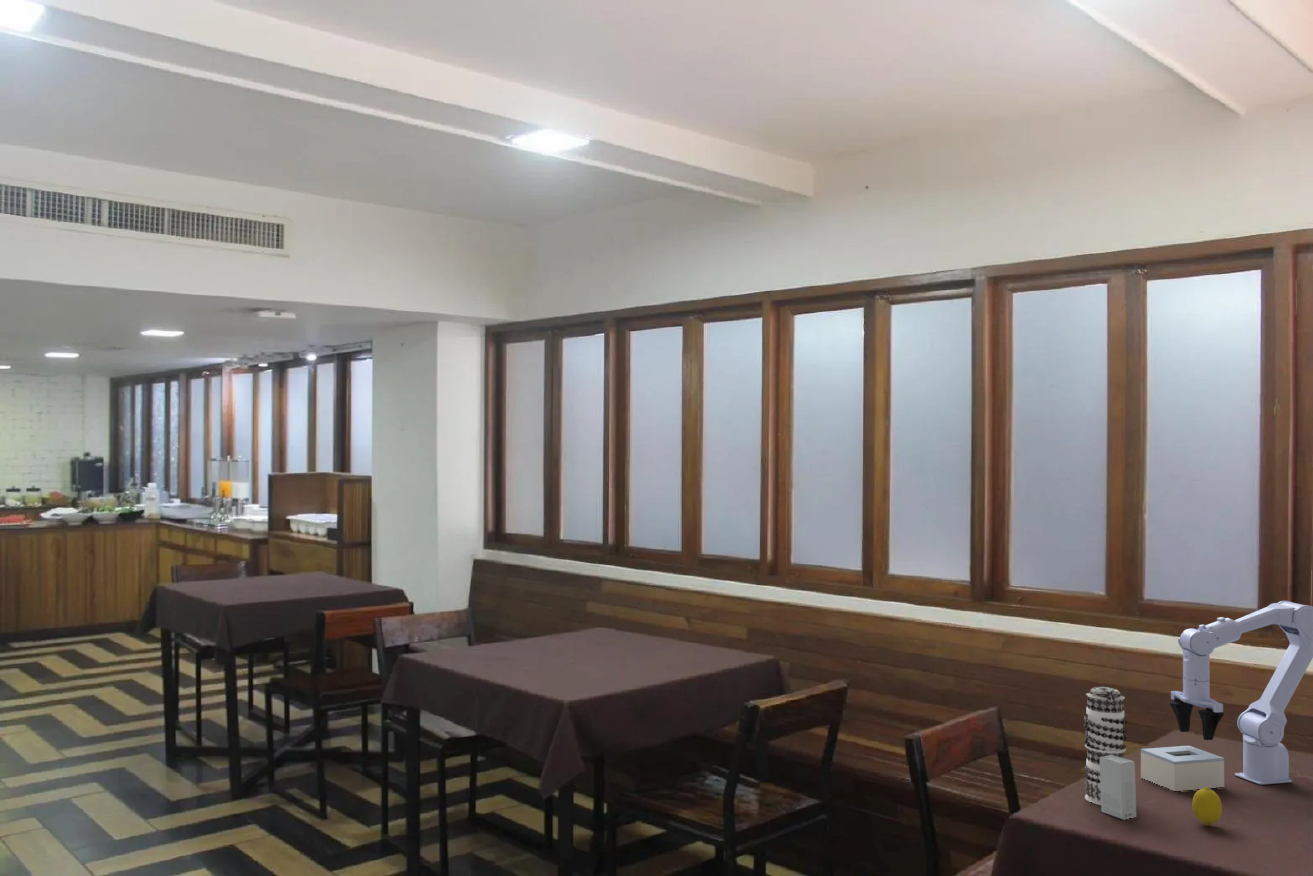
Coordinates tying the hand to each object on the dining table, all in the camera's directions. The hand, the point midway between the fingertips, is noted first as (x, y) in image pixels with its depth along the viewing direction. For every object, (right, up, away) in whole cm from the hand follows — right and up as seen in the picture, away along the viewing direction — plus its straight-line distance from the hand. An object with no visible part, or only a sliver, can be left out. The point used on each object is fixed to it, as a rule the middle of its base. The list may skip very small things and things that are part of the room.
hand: (1196, 735), depth 251 cm
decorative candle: (-30, -10, -17) cm, 36 cm away
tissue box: (-5, -10, -4) cm, 12 cm away
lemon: (-15, -10, -33) cm, 38 cm away
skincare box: (-31, -10, -27) cm, 43 cm away
